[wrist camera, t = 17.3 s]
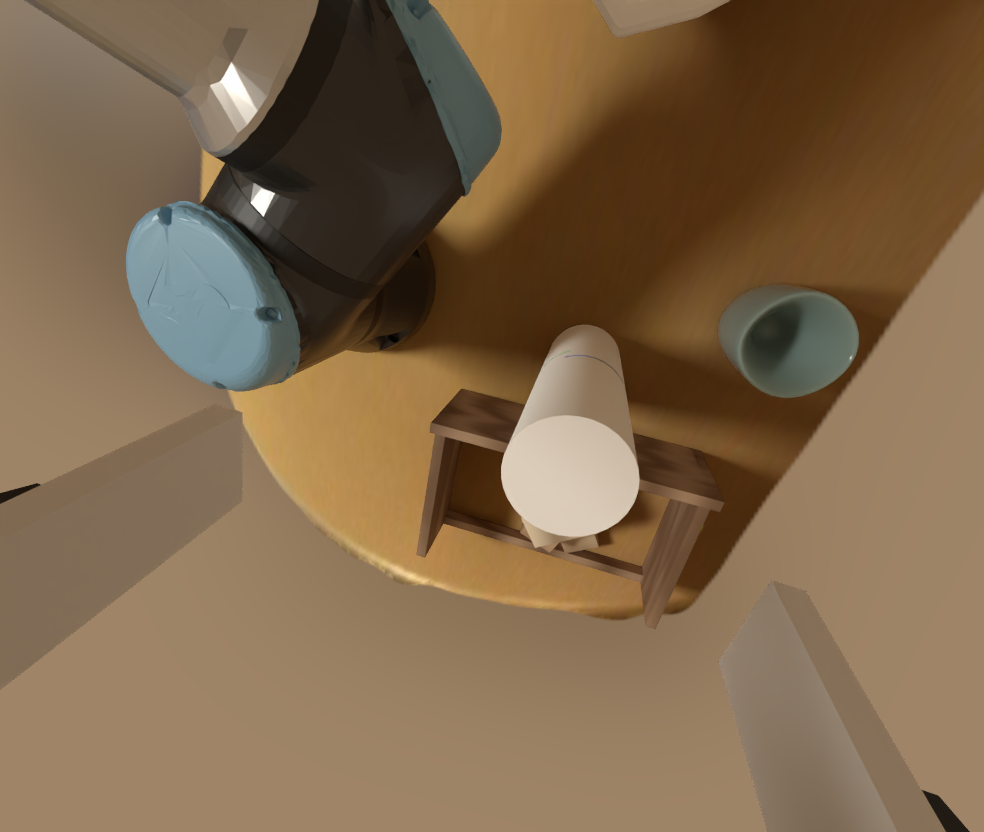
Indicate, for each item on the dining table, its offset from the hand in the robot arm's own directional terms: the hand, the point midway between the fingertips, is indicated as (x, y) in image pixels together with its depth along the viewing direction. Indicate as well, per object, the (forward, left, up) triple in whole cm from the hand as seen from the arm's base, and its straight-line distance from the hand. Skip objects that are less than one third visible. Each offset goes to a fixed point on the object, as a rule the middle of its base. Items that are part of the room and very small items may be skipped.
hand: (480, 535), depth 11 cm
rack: (+4, -20, -37) cm, 42 cm away
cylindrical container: (+3, -5, -38) cm, 38 cm away
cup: (+17, +2, -38) cm, 41 cm away
